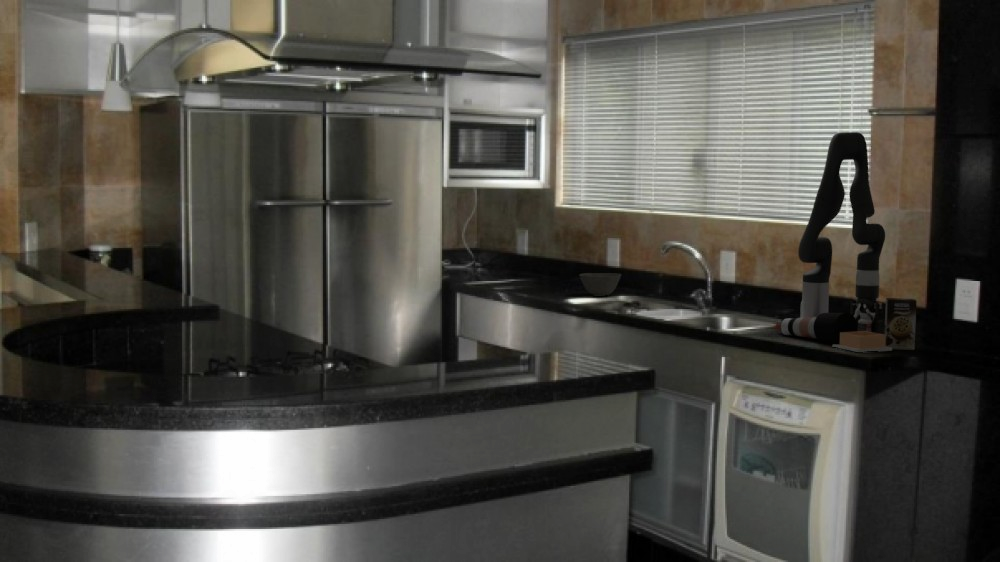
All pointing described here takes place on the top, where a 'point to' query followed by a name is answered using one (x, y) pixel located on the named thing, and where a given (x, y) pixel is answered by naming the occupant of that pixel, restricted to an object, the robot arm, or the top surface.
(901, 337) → the cookie box
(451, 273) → the top surface
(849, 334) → the end holder
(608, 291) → the bowl
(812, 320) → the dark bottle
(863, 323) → the pill bottle
